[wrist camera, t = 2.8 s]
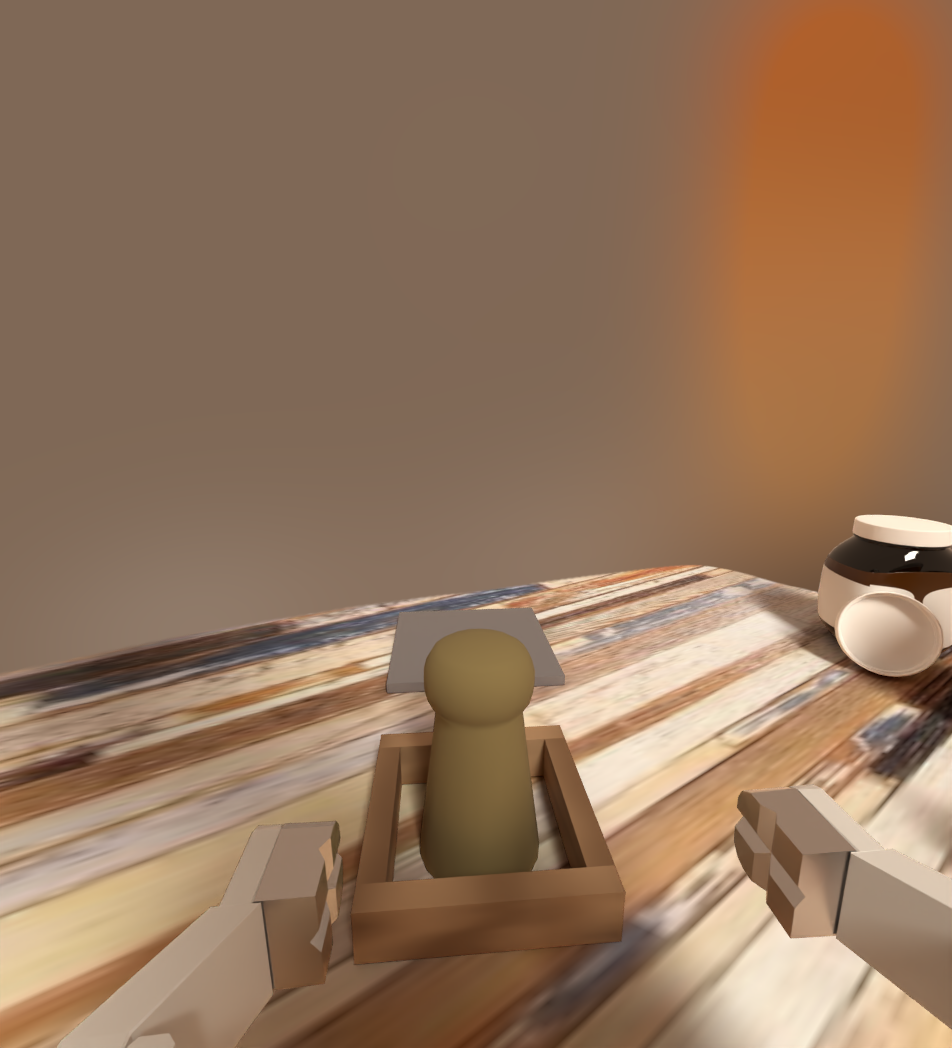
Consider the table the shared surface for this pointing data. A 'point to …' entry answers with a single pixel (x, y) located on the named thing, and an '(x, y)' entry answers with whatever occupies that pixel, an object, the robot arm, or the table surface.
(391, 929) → the square wooden frame
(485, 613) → the coaster
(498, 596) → the table surface
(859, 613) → the spread jar
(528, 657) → the cork
